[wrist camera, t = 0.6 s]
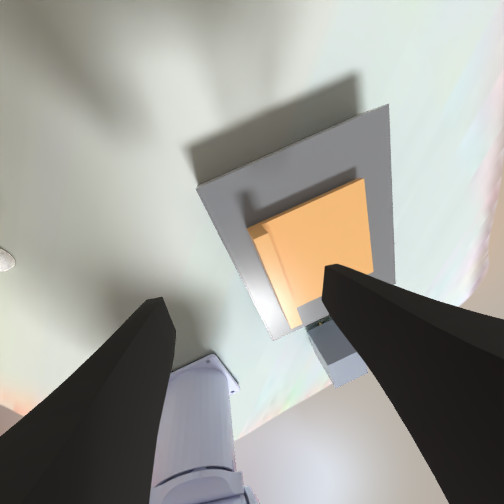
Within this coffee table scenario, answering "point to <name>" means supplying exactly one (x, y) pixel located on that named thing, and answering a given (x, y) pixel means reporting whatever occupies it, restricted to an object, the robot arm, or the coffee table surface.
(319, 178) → the socket base
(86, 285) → the coffee table surface
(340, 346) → the grey rectangular block
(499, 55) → the coffee table surface
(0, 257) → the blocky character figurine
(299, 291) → the panel
